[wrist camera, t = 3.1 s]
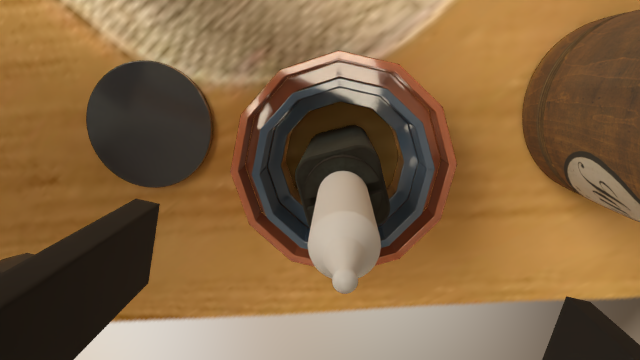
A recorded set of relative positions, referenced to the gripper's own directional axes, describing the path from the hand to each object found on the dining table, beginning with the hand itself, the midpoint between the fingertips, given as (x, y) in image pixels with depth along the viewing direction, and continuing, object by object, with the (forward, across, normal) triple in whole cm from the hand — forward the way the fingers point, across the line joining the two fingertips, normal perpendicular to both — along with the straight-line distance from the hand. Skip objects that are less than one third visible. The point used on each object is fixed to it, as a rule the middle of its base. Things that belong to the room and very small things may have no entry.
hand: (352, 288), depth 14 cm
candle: (+25, 0, 0) cm, 25 cm away
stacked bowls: (+25, 0, 0) cm, 25 cm away
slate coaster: (+25, -17, -1) cm, 30 cm away
